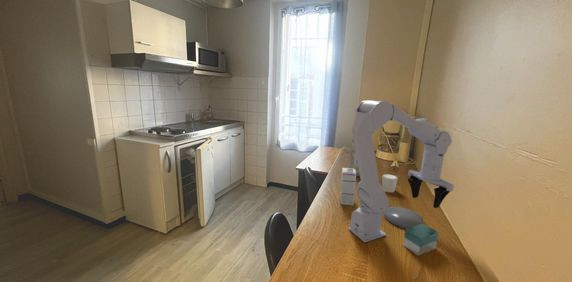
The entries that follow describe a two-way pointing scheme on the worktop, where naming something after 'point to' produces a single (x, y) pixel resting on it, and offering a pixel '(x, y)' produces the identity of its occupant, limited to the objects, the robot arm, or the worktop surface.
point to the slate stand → (402, 217)
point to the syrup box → (348, 186)
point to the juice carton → (354, 159)
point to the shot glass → (389, 182)
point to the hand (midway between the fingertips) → (425, 202)
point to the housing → (420, 239)
